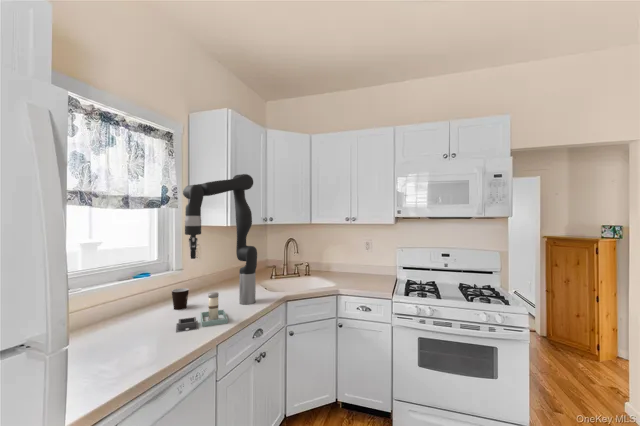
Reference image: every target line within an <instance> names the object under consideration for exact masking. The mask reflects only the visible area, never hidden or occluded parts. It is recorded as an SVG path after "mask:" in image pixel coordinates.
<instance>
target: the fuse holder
mask: <svg viewBox="0 0 640 426" xmlns="http://www.w3.org/2000/svg"><path fill="white" fill-rule="evenodd" d="M175 325H176V326H175V327H176V328H175V333H184V332H189V331H190V332H191V331H197V330H199V321H198V320H197V317H196V316H194V317H193V316H192V317H186V318H179V319H178V323H176V324H175Z"/></svg>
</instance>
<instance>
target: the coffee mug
mask: <svg viewBox="0 0 640 426" xmlns="http://www.w3.org/2000/svg"><path fill="white" fill-rule="evenodd" d="M189 291H190V288H187V287H178V288H174V289H172V290H171V295H172V304H173V305H172V306H173V310H175V311H180V310H181V311H182V310H185V309H186V308H188V307H187V305H188V300H189V299H188V298H189Z"/></svg>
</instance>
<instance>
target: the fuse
mask: <svg viewBox="0 0 640 426" xmlns="http://www.w3.org/2000/svg"><path fill="white" fill-rule="evenodd" d="M219 295H220V294H219V292H218V291H217V292H215V291H213V292H209V293H208V296H207V297H208V305H207V307H208V308H207V309H208V311H209V316H208V318H207V321H212V320H219V315H218V310H219Z"/></svg>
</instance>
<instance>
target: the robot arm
mask: <svg viewBox="0 0 640 426" xmlns="http://www.w3.org/2000/svg"><path fill="white" fill-rule="evenodd" d="M253 185H254V178H253V177H252V176H251V175H250V174H247V173H243V174H236V175H234V176H233V177H232V178H230V179H221V180H214V181H213V180H211V181H207V182H204V183H198V184H190V185H187V186H185V187H184V188H183V189H182V195H183V197H184V198H186V199H187V200H189V202H188V204H186V206H185V212H184V213H185V217H184V218H185V219H184V235H186V236H188V235H189V238H188V243H189V244H188V247H189V251H190V252H189V253H190V255H189V256H190V259H191V260H194V259H195V260H196V258H197V255H196V254H197V253H196V252H197V247H198V241H199V240H198V237H197V235H202V217H201V216H202V215H201V214H202V210H201V209H202V205H203V201H204V197H209V196H215V195H219V194H220V195H221V194H223V193H227V192H230V191H232V192H233V198H234V199H233V200H234V209H235V210H234V211H235V225H236V248H235V249H236V258H237V260H238V261H240V262H246V263H245V265H244V266H243V267H240V268H239V272H238V273H239V281H238V282H239V286H238V287H239V291H238V293H239V298H238V299H239V301H238V302H239V304H241V305H253V304H255V303H256V275H257V274H256V270H257V265H258V263H257V262H258V250H257V247H255V246H254V245H247V237H248V234H249V232H250V230H251V227H252V225H253V216H252V214H253V213H252V210H251V207H250V206H249V204H248V202H247V199H246V194H245V192H246V191H247V190H251V189H252V187H253Z"/></svg>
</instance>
